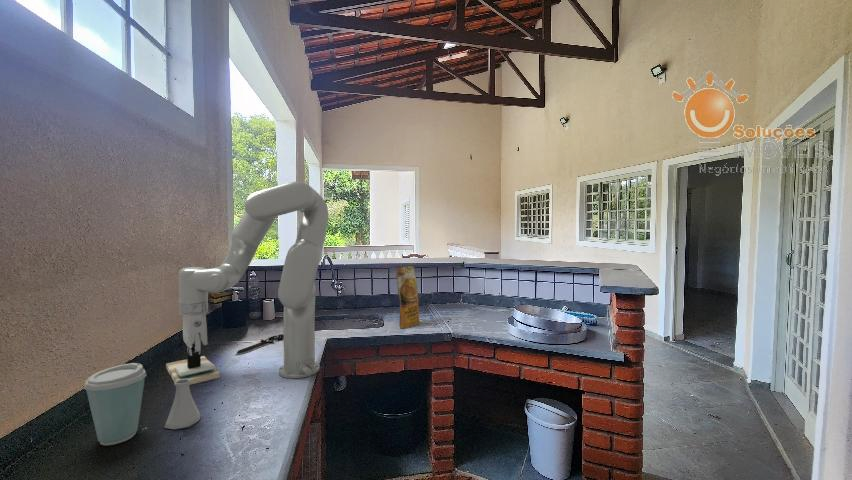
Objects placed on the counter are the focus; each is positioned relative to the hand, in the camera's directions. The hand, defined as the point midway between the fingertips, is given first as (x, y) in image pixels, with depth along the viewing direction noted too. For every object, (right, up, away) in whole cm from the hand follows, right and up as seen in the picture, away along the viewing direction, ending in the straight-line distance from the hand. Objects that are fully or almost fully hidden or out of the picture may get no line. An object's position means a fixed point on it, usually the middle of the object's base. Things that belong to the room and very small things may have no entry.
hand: (194, 367), depth 115 cm
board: (-3, -3, +4) cm, 6 cm away
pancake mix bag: (+63, -2, +64) cm, 90 cm away
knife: (+7, -3, +32) cm, 33 cm away
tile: (0, 0, +1) cm, 1 cm away
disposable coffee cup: (+3, -5, -32) cm, 33 cm away
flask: (+13, -5, -26) cm, 29 cm away
